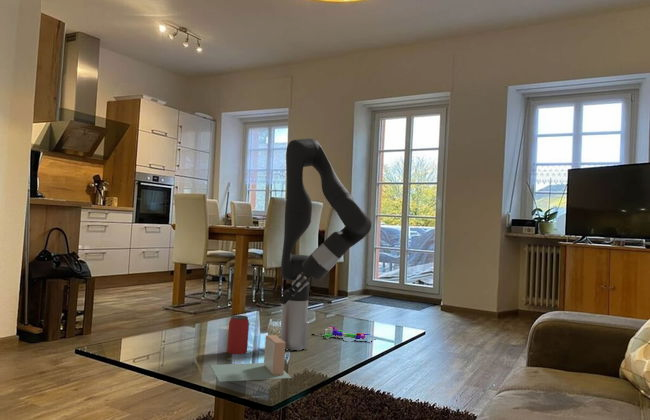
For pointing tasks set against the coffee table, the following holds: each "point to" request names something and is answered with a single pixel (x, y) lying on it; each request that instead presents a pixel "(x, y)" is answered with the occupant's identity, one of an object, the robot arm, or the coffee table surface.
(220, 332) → the coffee table surface
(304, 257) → the robot arm
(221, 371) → the felt mat
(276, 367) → the tile
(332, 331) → the building block set
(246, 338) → the beer can
